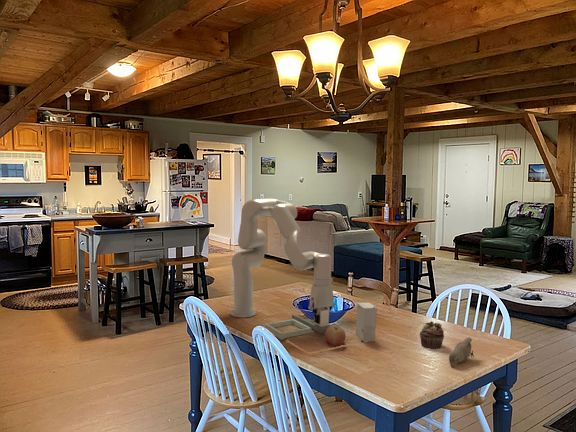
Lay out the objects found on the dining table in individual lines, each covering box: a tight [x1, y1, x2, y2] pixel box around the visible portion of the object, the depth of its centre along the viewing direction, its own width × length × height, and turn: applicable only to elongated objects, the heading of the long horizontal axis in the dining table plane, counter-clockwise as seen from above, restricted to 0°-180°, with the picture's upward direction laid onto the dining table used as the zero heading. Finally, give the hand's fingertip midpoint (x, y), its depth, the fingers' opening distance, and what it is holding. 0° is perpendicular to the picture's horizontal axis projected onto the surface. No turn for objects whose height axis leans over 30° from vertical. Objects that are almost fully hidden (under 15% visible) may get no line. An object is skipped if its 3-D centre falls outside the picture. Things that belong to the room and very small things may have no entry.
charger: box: [315, 308, 330, 327], centre depth 211 cm, size 5×4×9 cm
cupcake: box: [419, 320, 445, 350], centre depth 195 cm, size 10×10×10 cm
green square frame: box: [264, 318, 312, 341], centre depth 210 cm, size 15×15×3 cm
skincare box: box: [355, 302, 378, 343], centre depth 202 cm, size 8×6×15 cm
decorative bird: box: [448, 336, 475, 368], centre depth 178 cm, size 5×16×8 cm, turn 137°
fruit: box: [324, 324, 347, 348], centre depth 194 cm, size 8×8×8 cm
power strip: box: [291, 313, 332, 335], centre depth 220 cm, size 31×7×4 cm, turn 31°
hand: (321, 321), depth 212 cm, fingers closed on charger, 4 cm apart
